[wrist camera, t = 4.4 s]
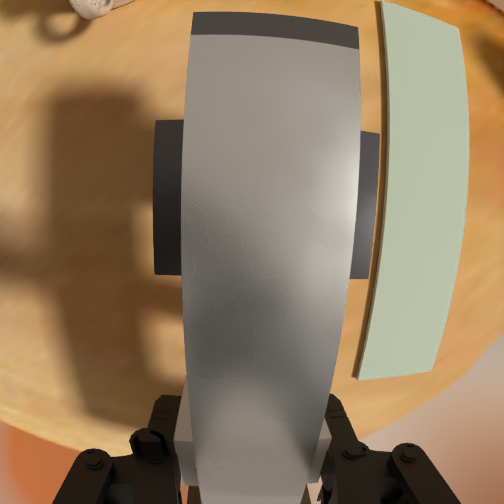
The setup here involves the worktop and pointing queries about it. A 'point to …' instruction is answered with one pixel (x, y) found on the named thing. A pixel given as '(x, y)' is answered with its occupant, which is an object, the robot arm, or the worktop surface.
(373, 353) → the mat
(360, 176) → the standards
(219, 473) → the rail
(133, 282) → the worktop surface
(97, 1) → the teacup with lid
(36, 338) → the worktop surface
